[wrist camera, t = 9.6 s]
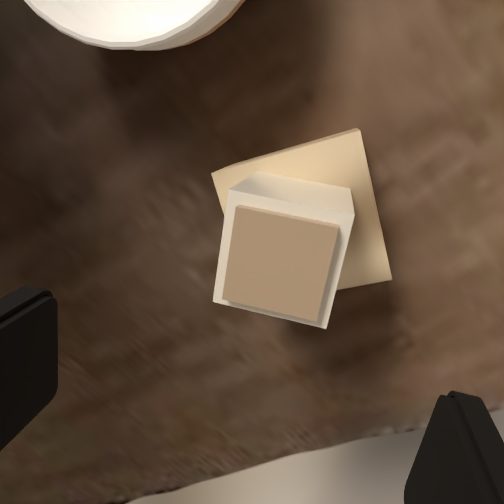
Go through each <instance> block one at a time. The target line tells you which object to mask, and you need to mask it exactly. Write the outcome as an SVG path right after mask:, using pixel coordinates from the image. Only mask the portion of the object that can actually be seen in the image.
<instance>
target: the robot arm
mask: <svg viewBox="0 0 504 504" xmlns="http://www.w3.org/2000/svg"><path fill="white" fill-rule="evenodd" d="M57 386H58V340H57V301H56V299H55V298H53V295H52V293H51V292H50V291H48V290H44V289H40V288H36V287H32V286H24V287H22V288H20V289H18V290H16V291H14V292H12V293H10V294H9V295H7V296H5V297H3V298H1V299H0V451H1V450H2V449H3V448H4V447H5V446H6V445H7V444H8V443H9V442H10V441H11V440H12V439H13V438H14V437H15V436H16V435H17V434H18V433H19V432H20V431H21V430H22V429H23V428H24V427H25V426H26V425H27V424H28V423H29V422H30V421H31V420H32V419H33V418H34V417H35V416H36V415H37V414H38V413H39V412H40V411H41V410H42V409H43V408H44V407H45V406H46V405H47V404H48V403H49V402H50V401H51V400H52V399H53V397H54V396H55V394H56V391H57ZM404 504H504V442H503V440H502V438H501V436H500V434H499V432H498V430H497V428H496V426H495V424H494V422H493V420H492V418H491V417H490V414H489V412H488V410H487V408H486V406H485V404H484V402H483V401H482V399H481V398H479V397H477V396H473V395H468V394H464V393H460V392H456V391H450V392H449V393H448V395H447V396H445V395H440V396H439V398H438V400H437V402H436V405H435V408H434V410H433V413H432V416H431V418H430V421H429V424H428V426H427V429H426V431H425V434H424V437H423V439H422V442H421V445H420V448H419V450H418V453H417V455H416V458H415V461H414V463H413V466H412V468H411V471H410V474H409V476H408V479H407V482H406V485H405V490H404Z"/></svg>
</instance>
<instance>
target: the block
mask: <svg viewBox="0 0 504 504" xmlns="http://www.w3.org/2000/svg"><path fill="white" fill-rule="evenodd" d="M257 171H260V172H266V173H271V174H276V175H281V176H286V177H292V178H297V179H302V180H307V181H313V182H318V183H323V184H328V185H333V186H339V187H344V188H349V189H351V195H352V201H353V207H354V213H355V216H354V220H353V224H352V228H351V232H350V236H349V240H348V244H347V248H346V252H345V256H344V260H343V264H342V268H341V272H340V276H339V280H338V284H337V288H336V290H340V289H345V288H350V287H356V286H361V285H366V284H372V283H377V282H383V281H388V280H392V276H391V272H390V267H389V262H388V258H387V253H386V248H385V244H384V239H383V234H382V230H381V225H380V220H379V216H378V211H377V206H376V202H375V197H374V192H373V188H372V183H371V179H370V174H369V169H368V165H367V160H366V155H365V151H364V146H363V141H362V137H361V132H360V130H359V129H357V128H355V129H352V130H348V131H345V132H341V133H338V134H334V135H331V136H328V137H324V138H321V139H317V140H314V141H310V142H307V143H303V144H300V145H296V146H293V147H290V148H286V149H283V150H279V151H276V152H272V153H269V154H265V155H262V156H259V157H255V158H252V159H248V160H245V161H241V162H238V163H234V164H232V165H230V166H227V167H225V168H222V169H220V170H218V171H215V172H213V173H211V175H212V178H213V181H214V184H215V187H216V191H217V194H218V197H219V200H220V204H221V207H222V210H223V213H224V217H225V211H226V204H227V197H228V190H229V189H230V188H232V187H233V186H235V185H237V184H238V183H240V182H241V181H243V180H245V179H246V178H248V177H249V176H251V175H252V174H254V173H256V172H257Z"/></svg>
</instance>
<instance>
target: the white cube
mask: <svg viewBox="0 0 504 504" xmlns="http://www.w3.org/2000/svg"><path fill="white" fill-rule="evenodd" d="M354 216H355V213H354V207H353V201H352V195H351V189H349V188H344V187H339V186H333V185H328V184H323V183H318V182H313V181H307V180H302V179H297V178H292V177H286V176H281V175H276V174H271V173H266V172H260V171H257V172H256V173H254V174H252V175H251V176H249V177H248V178H246V179H245V180H243V181H241V182H240V183H238V184H237V185H235V186H233V187H232V188H230V189H229V190H228V197H227V204H226V211H225V218H224V225H223V233H222V240H221V247H220V254H219V261H218V268H217V275H216V282H215V289H214V296H213V302H216V303H220V304H224V305H228V306H232V307H237V308H241V309H245V310H249V311H253V312H257V313H262V314H266V315H270V316H274V317H278V318H283V319H287V320H291V321H295V322H299V323H303V324H308V325H312V326H316V327H320V328H324V329H326V328H327V324H328V320H329V316H330V312H331V308H332V304H333V300H334V296H335V292H336V288H337V284H338V280H339V276H340V272H341V268H342V264H343V260H344V256H345V252H346V248H347V244H348V240H349V236H350V232H351V228H352V224H353V220H354Z"/></svg>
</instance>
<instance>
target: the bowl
mask: <svg viewBox="0 0 504 504" xmlns="http://www.w3.org/2000/svg"><path fill="white" fill-rule="evenodd" d="M24 1H25V2H26V3H27V4H28V5H29V6H30V8H31V9H32V10H33V11H34V12H35V13H36V14H37V15H38V16H40V17H41V18H42V19H44V20H45V21H46V22H48V23H49V24H50V25H52V26H53V27H54V28H56V29H57V30H59V31H60V32H62V33H64V34H66V35H68V36H70V37H72V38H74V39H77V40H79V41H81V42H83V43H85V44H89V45H93V46H98V47H102V48H107V49H111V50H126V49H132V50H137V51H139V50H163V49H172V48H176V47H180V46H184V45H188V44H191V43H193V42H195V41H197V40H199V39H201V38H203V37H205V36H207V35H209V34H211V33H212V32H214V31H215V30H216V29H217V28H219V27H220V26H221V25H222V24H224V23H225V22H226V21H227V20H229V19H230V18H231V17H232V16H233V14H234V13H235V12H236V11H237V10H238V8H239V7H240V6H241V5H242V4H243V2H244V1H245V0H24Z"/></svg>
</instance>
